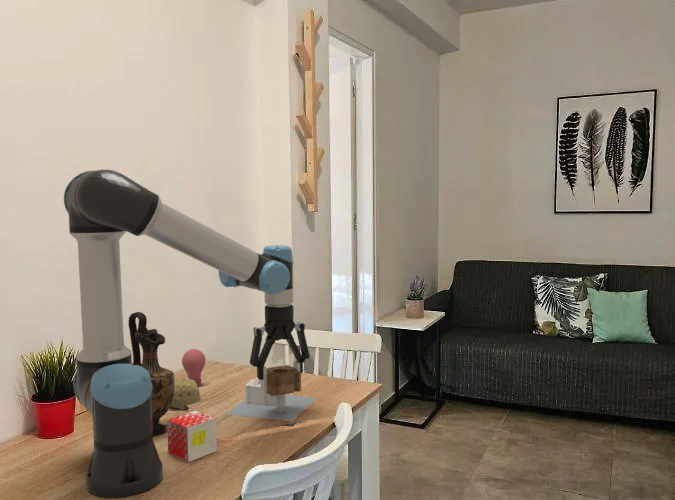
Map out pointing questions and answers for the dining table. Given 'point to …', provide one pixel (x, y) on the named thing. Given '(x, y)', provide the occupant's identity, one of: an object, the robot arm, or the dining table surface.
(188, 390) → the decorative item
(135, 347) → the vase
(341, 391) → the dining table surface
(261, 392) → the gear
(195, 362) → the light bulb
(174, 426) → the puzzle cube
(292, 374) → the walnut gear
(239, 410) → the gear board
